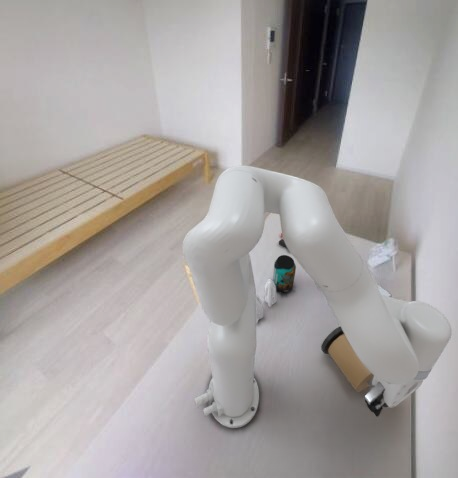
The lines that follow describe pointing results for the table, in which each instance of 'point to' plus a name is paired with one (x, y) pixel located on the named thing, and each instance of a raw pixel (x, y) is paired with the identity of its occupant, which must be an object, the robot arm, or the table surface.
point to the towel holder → (348, 361)
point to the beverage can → (284, 274)
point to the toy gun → (282, 242)
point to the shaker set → (266, 298)
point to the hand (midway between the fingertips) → (387, 396)
